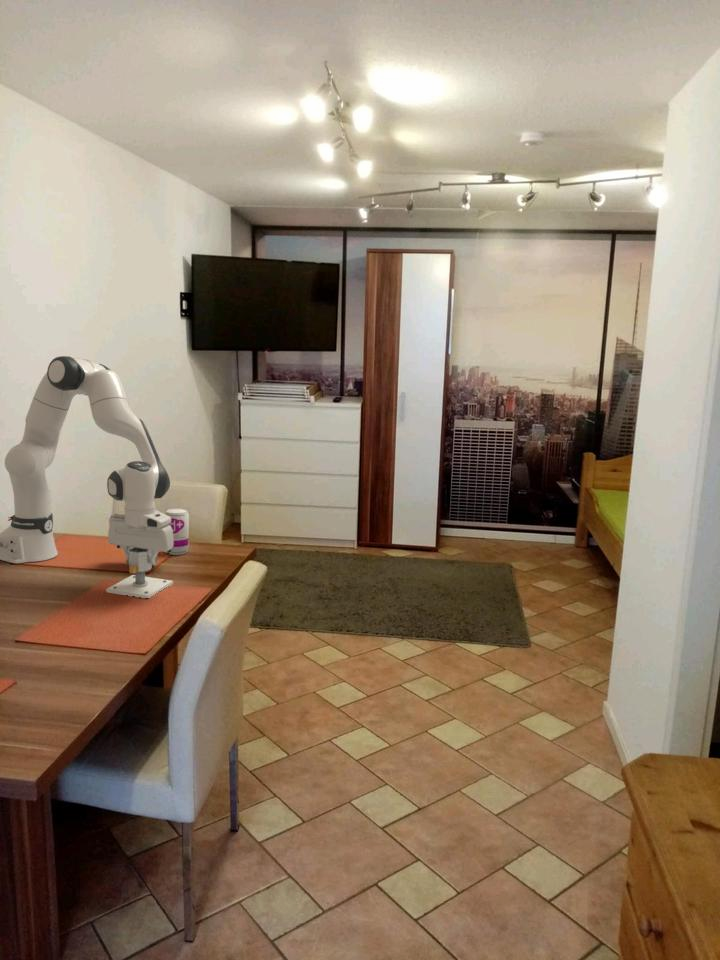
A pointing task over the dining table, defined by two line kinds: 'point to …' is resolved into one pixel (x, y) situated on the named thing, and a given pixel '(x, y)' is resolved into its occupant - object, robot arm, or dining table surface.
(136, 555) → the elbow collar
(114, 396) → the robot arm
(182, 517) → the supplement can
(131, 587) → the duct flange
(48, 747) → the dining table surface
